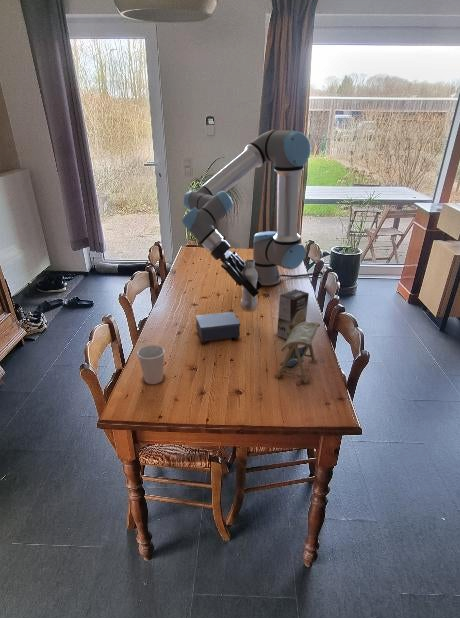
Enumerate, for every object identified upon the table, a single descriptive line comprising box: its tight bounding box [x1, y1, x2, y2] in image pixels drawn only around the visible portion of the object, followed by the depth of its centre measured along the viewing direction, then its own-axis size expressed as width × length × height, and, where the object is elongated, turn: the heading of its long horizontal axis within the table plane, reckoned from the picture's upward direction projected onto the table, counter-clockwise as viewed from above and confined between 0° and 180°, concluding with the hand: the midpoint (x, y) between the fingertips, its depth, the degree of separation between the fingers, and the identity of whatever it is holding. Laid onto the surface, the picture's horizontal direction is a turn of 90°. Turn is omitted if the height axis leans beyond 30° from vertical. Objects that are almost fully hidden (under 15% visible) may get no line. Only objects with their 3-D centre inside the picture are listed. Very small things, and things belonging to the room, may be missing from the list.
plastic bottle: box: [239, 259, 259, 313], centre depth 166 cm, size 6×7×20 cm
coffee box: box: [276, 288, 310, 341], centre depth 158 cm, size 9×6×16 cm
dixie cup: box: [136, 344, 166, 385], centre depth 134 cm, size 8×8×10 cm
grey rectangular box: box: [194, 311, 241, 345], centre depth 159 cm, size 14×10×7 cm
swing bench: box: [276, 320, 321, 384], centre depth 137 cm, size 15×10×15 cm, turn 158°
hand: (258, 291), depth 166 cm, fingers closed on plastic bottle, 6 cm apart
